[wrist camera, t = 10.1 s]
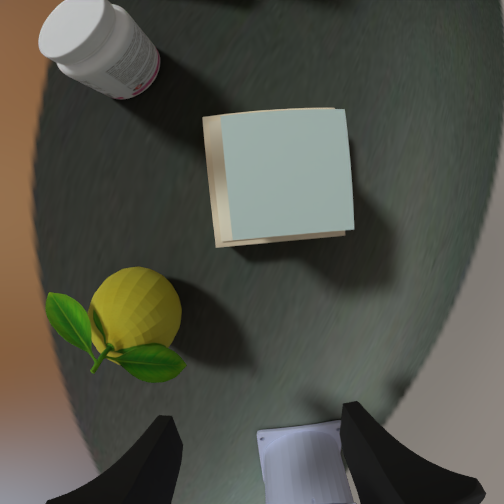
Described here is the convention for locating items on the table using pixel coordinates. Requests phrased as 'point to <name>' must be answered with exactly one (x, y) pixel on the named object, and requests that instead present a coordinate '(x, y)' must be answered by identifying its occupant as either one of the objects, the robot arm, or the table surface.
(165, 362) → the lemon
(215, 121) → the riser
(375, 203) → the table surface
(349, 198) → the teal block
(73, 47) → the pill bottle
